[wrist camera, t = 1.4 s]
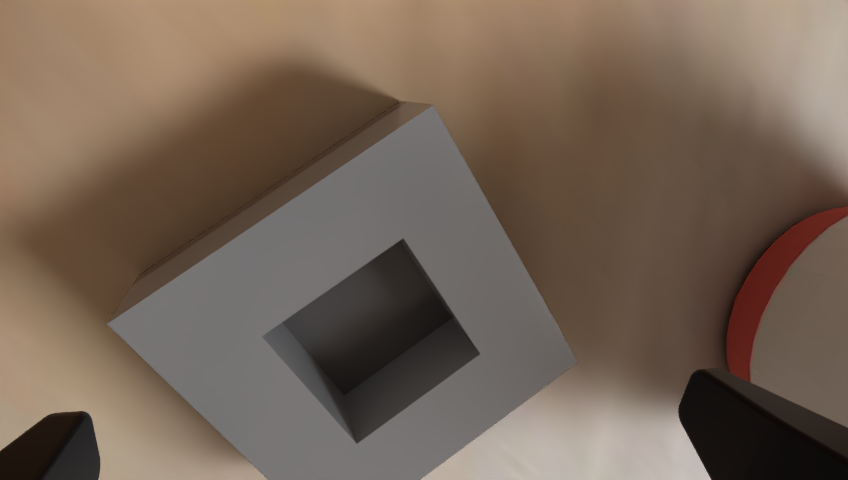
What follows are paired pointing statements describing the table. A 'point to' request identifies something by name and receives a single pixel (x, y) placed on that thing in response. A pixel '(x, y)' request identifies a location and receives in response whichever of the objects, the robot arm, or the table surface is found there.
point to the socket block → (352, 312)
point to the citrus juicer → (797, 317)
